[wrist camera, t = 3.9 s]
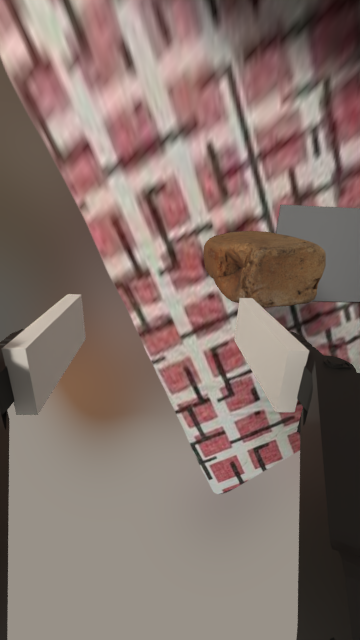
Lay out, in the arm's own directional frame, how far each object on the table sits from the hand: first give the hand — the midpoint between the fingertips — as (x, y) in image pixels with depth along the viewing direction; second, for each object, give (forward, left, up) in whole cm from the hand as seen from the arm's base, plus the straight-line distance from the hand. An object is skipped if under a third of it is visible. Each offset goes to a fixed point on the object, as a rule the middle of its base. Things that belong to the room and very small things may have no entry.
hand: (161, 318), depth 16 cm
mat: (+30, 0, -31) cm, 43 cm away
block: (+12, 0, -32) cm, 34 cm away
